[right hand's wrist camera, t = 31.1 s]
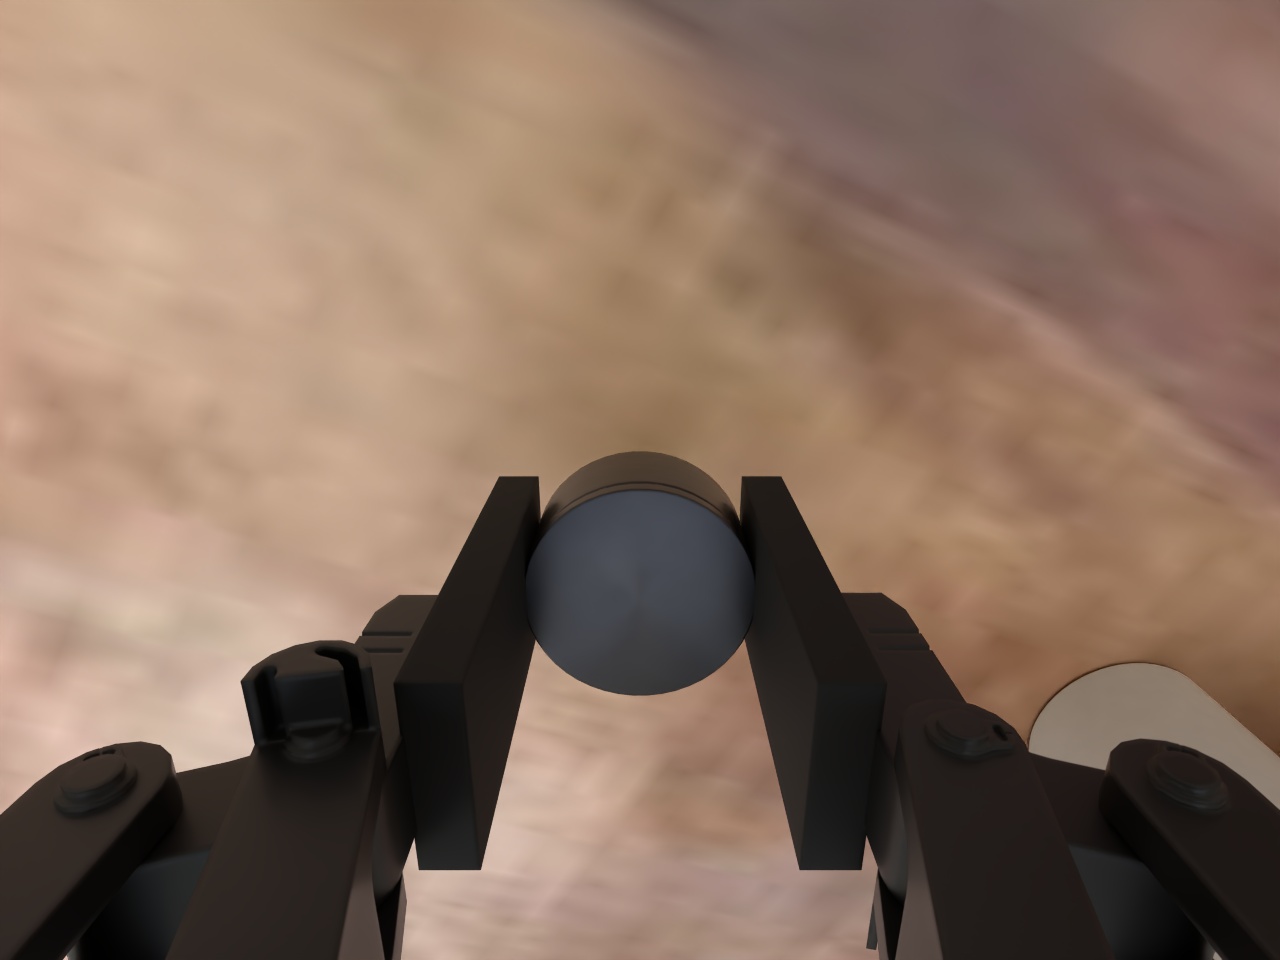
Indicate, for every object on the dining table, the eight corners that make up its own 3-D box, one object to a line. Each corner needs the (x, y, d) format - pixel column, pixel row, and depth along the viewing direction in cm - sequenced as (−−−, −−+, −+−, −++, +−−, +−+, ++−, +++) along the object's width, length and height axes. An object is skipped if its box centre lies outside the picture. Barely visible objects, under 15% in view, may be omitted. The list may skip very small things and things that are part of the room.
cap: (564, 649, 15) (553, 713, 13) (514, 471, 14) (495, 513, 12) (755, 616, 15) (772, 676, 13) (724, 431, 14) (738, 468, 12)
